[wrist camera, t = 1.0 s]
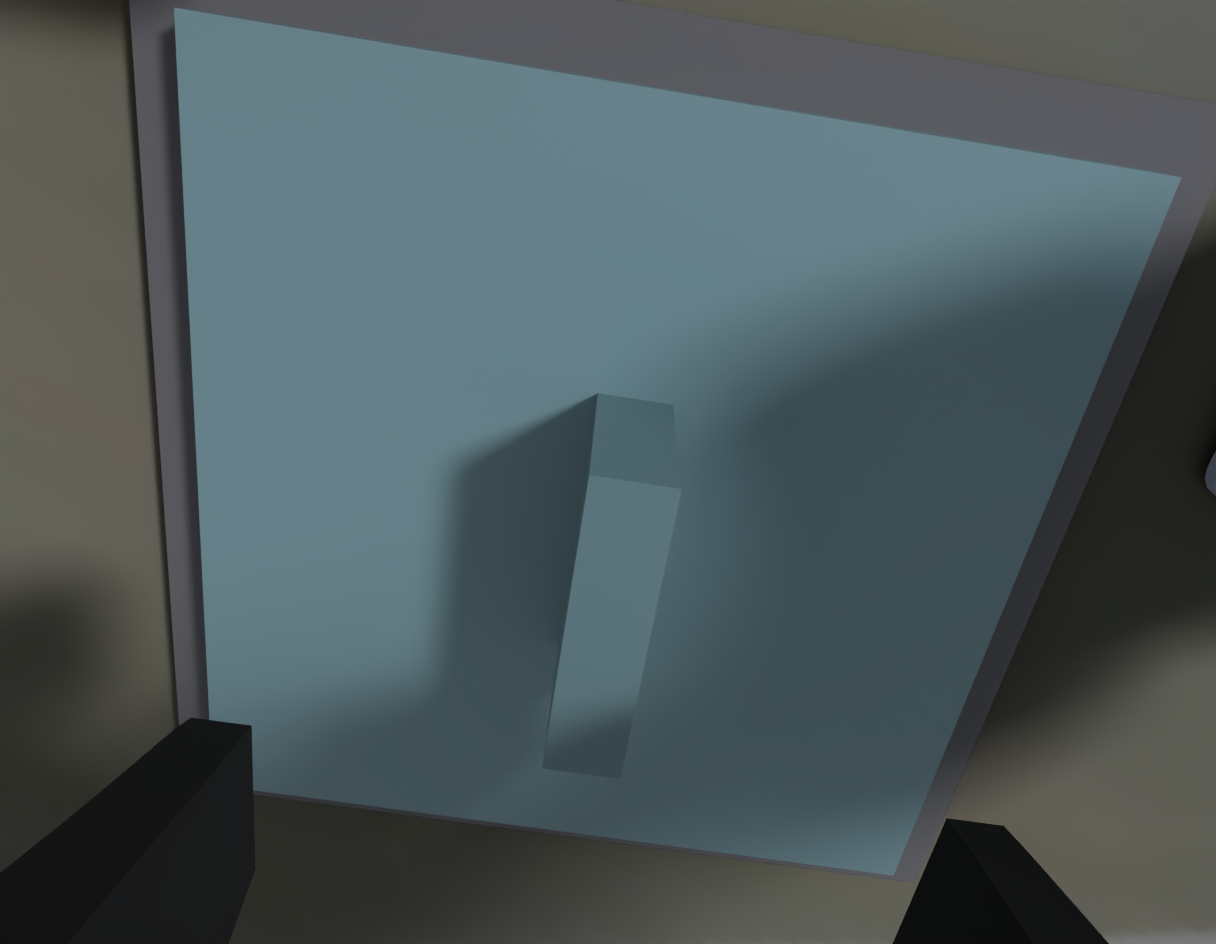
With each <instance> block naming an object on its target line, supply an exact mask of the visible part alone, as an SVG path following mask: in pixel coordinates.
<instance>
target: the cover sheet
mask: <svg viewBox="0 0 1216 944" xmlns="http://www.w3.org/2000/svg"><path fill="white" fill-rule="evenodd" d="M174 19H175V39H176V59H177V79H178V99H179V119H180V139H181V159H182V179H183V199H184V219H185V239H186V259H187V279H188V299H189V320H190V340H191V360H192V380H193V400H194V420H195V440H196V460H197V480H198V500H199V520H200V540H201V560H202V580H203V600H204V620H205V640H206V660H207V680H208V701H209V720H214V721H221V722H229V723H236V724H244V725H251V726H252V759H253V790H255V791H263V792H270V793H278V794H285V795H293V796H300V797H308V798H315V799H323V800H330V801H338V802H345V803H353V804H360V805H368V806H375V807H383V808H390V809H398V810H405V811H413V812H420V813H428V814H435V815H443V816H450V817H458V818H465V819H473V820H480V821H488V822H495V823H503V824H510V825H518V826H525V827H533V828H540V829H548V830H555V831H563V832H570V833H578V834H585V835H593V836H600V837H608V838H615V839H623V840H630V841H638V842H645V843H653V844H660V845H668V846H675V847H683V848H690V849H698V850H705V851H713V852H720V853H728V854H735V855H743V856H750V857H758V858H765V859H773V860H780V861H788V862H795V863H803V864H810V865H818V866H825V867H833V868H840V869H848V870H855V871H863V872H870V873H878V874H885V875H893V876H894V873H895V871H896V869H897V866H898V864H899V861H900V859H901V856H902V854H903V852H904V849H905V847H906V844H907V842H908V839H909V837H910V835H911V832H912V830H913V827H914V825H915V823H916V820H917V818H918V815H919V813H920V810H921V808H922V806H923V803H924V801H925V798H926V796H927V793H928V791H929V789H930V786H931V784H932V781H933V779H934V776H935V774H936V772H937V769H938V767H939V764H940V762H941V759H942V757H943V755H944V752H945V750H946V747H947V745H948V743H949V740H950V738H951V735H952V733H953V730H954V728H955V726H956V723H957V721H958V718H959V716H960V713H961V711H962V709H963V706H964V704H965V701H966V699H967V696H968V694H969V692H970V689H971V687H972V684H973V682H974V679H975V677H976V675H977V672H978V670H979V667H980V665H981V663H982V660H983V658H984V655H985V653H986V650H987V648H988V646H989V643H990V641H991V638H992V636H993V633H994V631H995V629H996V626H997V624H998V621H999V619H1000V616H1001V614H1002V612H1003V609H1004V607H1005V604H1006V602H1007V599H1008V597H1009V595H1010V592H1011V590H1012V587H1013V585H1014V583H1015V580H1016V578H1017V575H1018V573H1019V570H1020V568H1021V566H1022V563H1023V561H1024V558H1025V556H1026V553H1027V551H1028V549H1029V546H1030V544H1031V541H1032V539H1033V536H1034V534H1035V532H1036V529H1037V527H1038V524H1039V522H1040V520H1041V517H1042V515H1043V512H1044V510H1045V507H1046V505H1047V503H1048V500H1049V498H1050V495H1051V493H1052V490H1053V488H1054V486H1055V483H1056V481H1057V478H1058V476H1059V473H1060V471H1061V469H1062V466H1063V464H1064V461H1065V459H1066V456H1067V454H1068V452H1069V449H1070V447H1071V444H1072V442H1073V440H1074V437H1075V435H1076V432H1077V430H1078V427H1079V425H1080V423H1081V420H1082V418H1083V415H1084V413H1085V410H1086V408H1087V406H1088V403H1089V401H1090V398H1091V396H1092V393H1093V391H1094V389H1095V386H1096V384H1097V381H1098V379H1099V376H1100V374H1101V372H1102V369H1103V367H1104V364H1105V362H1106V360H1107V357H1108V355H1109V352H1110V350H1111V347H1112V345H1113V343H1114V340H1115V338H1116V335H1117V333H1118V330H1119V328H1120V326H1121V323H1122V321H1123V318H1124V316H1125V313H1126V311H1127V309H1128V306H1129V304H1130V301H1131V299H1132V297H1133V294H1134V292H1135V289H1136V287H1137V284H1138V282H1139V280H1140V277H1141V275H1142V272H1143V270H1144V267H1145V265H1146V263H1147V260H1148V258H1149V255H1150V253H1151V250H1152V248H1153V246H1154V243H1155V241H1156V238H1157V236H1158V233H1159V231H1160V229H1161V226H1162V224H1163V221H1164V219H1165V217H1166V214H1167V212H1168V209H1169V207H1170V204H1171V202H1172V200H1173V197H1174V195H1175V192H1176V190H1177V187H1178V185H1179V183H1180V180H1181V178H1182V177H1178V176H1174V175H1170V174H1166V173H1161V172H1157V171H1153V170H1148V169H1142V168H1136V167H1130V166H1124V165H1118V164H1112V163H1106V162H1100V161H1094V160H1088V159H1082V158H1076V157H1070V156H1065V155H1059V154H1053V153H1047V152H1041V151H1035V150H1029V149H1023V148H1017V147H1011V146H1005V145H999V144H993V143H987V142H982V141H976V140H970V139H964V138H958V137H952V136H946V135H940V134H934V133H928V132H922V131H916V130H910V129H904V128H899V127H893V126H887V125H881V124H875V123H869V122H863V121H857V120H851V119H845V118H839V117H833V116H827V115H821V114H815V113H810V112H804V111H798V110H792V109H786V108H780V107H774V106H768V105H762V104H756V103H750V102H744V101H738V100H732V99H727V98H721V97H715V96H709V95H703V94H697V93H691V92H685V91H679V90H673V89H667V88H661V87H655V86H649V85H644V84H638V83H632V82H626V81H620V80H614V79H608V78H602V77H596V76H590V75H584V74H578V73H572V72H566V71H561V70H555V69H549V68H543V67H537V66H531V65H525V64H519V63H513V62H507V61H501V60H495V59H489V58H483V57H478V56H472V55H466V54H460V53H454V52H448V51H442V50H436V49H430V48H424V47H418V46H412V45H406V44H400V43H394V42H389V41H383V40H377V39H371V38H365V37H359V36H353V35H347V34H341V33H335V32H329V31H323V30H317V29H311V28H306V27H300V26H294V25H288V24H282V23H276V22H270V21H264V20H258V19H252V18H246V17H240V16H234V15H228V14H223V13H217V12H211V11H205V10H198V9H186V8H175V7H174Z"/></svg>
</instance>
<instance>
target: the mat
mask: <svg viewBox="0 0 1216 944" xmlns="http://www.w3.org/2000/svg"><path fill="white" fill-rule="evenodd" d="M129 7H130V21H131V36H132V50H133V65H134V79H135V94H136V108H137V123H138V137H139V152H140V166H141V181H142V195H143V210H144V224H145V239H146V253H147V268H148V282H149V297H150V311H151V326H152V340H153V355H154V369H155V384H156V398H157V413H158V427H159V442H160V456H161V471H162V485H163V500H164V515H165V529H166V544H167V558H168V573H169V587H170V602H171V616H172V631H173V645H174V660H175V674H176V689H177V703H178V718H179V725H181V724H182V723H184V722H185V721H187V720H188V719H190V718H199V719H206V720H209V701H208V680H207V660H206V640H205V620H204V600H203V580H202V560H201V540H200V520H199V500H198V480H197V460H196V440H195V420H194V400H193V380H192V360H191V340H190V320H189V299H188V279H187V259H186V239H185V219H184V199H183V179H182V159H181V139H180V119H179V99H178V79H177V59H176V39H175V19H174V7H175V8H186V9H198V10H205V11H211V12H217V13H223V14H228V15H234V16H240V17H246V18H252V19H258V20H264V21H270V22H276V23H282V24H288V25H294V26H300V27H306V28H311V29H317V30H323V31H329V32H335V33H341V34H347V35H353V36H359V37H365V38H371V39H377V40H383V41H389V42H394V43H400V44H406V45H412V46H418V47H424V48H430V49H436V50H442V51H448V52H454V53H460V54H466V55H472V56H478V57H483V58H489V59H495V60H501V61H507V62H513V63H519V64H525V65H531V66H537V67H543V68H549V69H555V70H561V71H566V72H572V73H578V74H584V75H590V76H596V77H602V78H608V79H614V80H620V81H626V82H632V83H638V84H644V85H649V86H655V87H661V88H667V89H673V90H679V91H685V92H691V93H697V94H703V95H709V96H715V97H721V98H727V99H732V100H738V101H744V102H750V103H756V104H762V105H768V106H774V107H780V108H786V109H792V110H798V111H804V112H810V113H815V114H821V115H827V116H833V117H839V118H845V119H851V120H857V121H863V122H869V123H875V124H881V125H887V126H893V127H899V128H904V129H910V130H916V131H922V132H928V133H934V134H940V135H946V136H952V137H958V138H964V139H970V140H976V141H982V142H987V143H993V144H999V145H1005V146H1011V147H1017V148H1023V149H1029V150H1035V151H1041V152H1047V153H1053V154H1059V155H1065V156H1070V157H1076V158H1082V159H1088V160H1094V161H1100V162H1106V163H1112V164H1118V165H1124V166H1130V167H1136V168H1142V169H1148V170H1153V171H1157V172H1161V173H1166V174H1170V175H1174V176H1178V177H1182V178H1181V180H1180V183H1179V185H1178V187H1177V190H1176V192H1175V195H1174V197H1173V200H1172V202H1171V204H1170V207H1169V209H1168V212H1167V214H1166V217H1165V219H1164V221H1163V224H1162V226H1161V229H1160V231H1159V233H1158V236H1157V238H1156V241H1155V243H1154V246H1153V248H1152V250H1151V253H1150V255H1149V258H1148V260H1147V263H1146V265H1145V267H1144V270H1143V272H1142V275H1141V277H1140V280H1139V282H1138V284H1137V287H1136V289H1135V292H1134V294H1133V297H1132V299H1131V301H1130V304H1129V306H1128V309H1127V311H1126V313H1125V316H1124V318H1123V321H1122V323H1121V326H1120V328H1119V330H1118V333H1117V335H1116V338H1115V340H1114V343H1113V345H1112V347H1111V350H1110V352H1109V355H1108V357H1107V360H1106V362H1105V364H1104V367H1103V369H1102V372H1101V374H1100V376H1099V379H1098V381H1097V384H1096V386H1095V389H1094V391H1093V393H1092V396H1091V398H1090V401H1089V403H1088V406H1087V408H1086V410H1085V413H1084V415H1083V418H1082V420H1081V423H1080V425H1079V427H1078V430H1077V432H1076V435H1075V437H1074V440H1073V442H1072V444H1071V447H1070V449H1069V452H1068V454H1067V456H1066V459H1065V461H1064V464H1063V466H1062V469H1061V471H1060V473H1059V476H1058V478H1057V481H1056V483H1055V486H1054V488H1053V490H1052V493H1051V495H1050V498H1049V500H1048V503H1047V505H1046V507H1045V510H1044V512H1043V515H1042V517H1041V520H1040V522H1039V524H1038V527H1037V529H1036V532H1035V534H1034V536H1033V539H1032V541H1031V544H1030V546H1029V549H1028V551H1027V553H1026V556H1025V558H1024V561H1023V563H1022V566H1021V568H1020V570H1019V573H1018V575H1017V578H1016V580H1015V583H1014V585H1013V587H1012V590H1011V592H1010V595H1009V597H1008V599H1007V602H1006V604H1005V607H1004V609H1003V612H1002V614H1001V616H1000V619H999V621H998V624H997V626H996V629H995V631H994V633H993V636H992V638H991V641H990V643H989V646H988V648H987V650H986V653H985V655H984V658H983V660H982V663H981V665H980V667H979V670H978V672H977V675H976V677H975V679H974V682H973V684H972V687H971V689H970V692H969V694H968V696H967V699H966V701H965V704H964V706H963V709H962V711H961V713H960V716H959V718H958V721H957V723H956V726H955V728H954V730H953V733H952V735H951V738H950V740H949V743H948V745H947V747H946V750H945V752H944V755H943V757H942V759H941V762H940V764H939V767H938V769H937V772H936V774H935V776H934V779H933V781H932V784H931V786H930V789H929V791H928V793H927V796H926V798H925V801H924V803H923V806H922V808H921V810H920V813H919V815H918V818H917V820H916V823H915V825H914V827H913V830H912V832H911V835H910V837H909V839H908V842H907V844H906V847H905V849H904V852H903V854H902V856H901V859H900V861H899V864H898V866H897V869H896V871H895V873H894V876H893V875H885V874H878V873H870V872H863V871H855V870H848V869H840V868H833V867H825V866H818V865H810V864H803V863H795V862H788V861H780V860H773V859H765V858H758V857H750V856H743V855H735V854H728V853H720V852H713V851H705V850H698V849H690V848H683V847H675V846H668V845H660V844H653V843H645V842H638V841H630V840H623V839H615V838H608V837H600V836H593V835H585V834H578V833H570V832H563V831H555V830H548V829H540V828H533V827H525V826H518V825H510V824H503V823H495V822H488V821H480V820H473V819H465V818H458V817H450V816H443V815H435V814H428V813H420V812H413V811H405V810H398V809H390V808H383V807H375V806H368V805H360V804H353V803H345V802H338V801H330V800H323V799H315V798H308V797H300V796H293V795H285V794H278V793H270V792H263V791H255V790H253V795H259V796H266V797H274V798H281V799H289V800H296V801H304V802H311V803H319V804H326V805H334V806H341V807H349V808H356V809H364V810H372V811H379V812H387V813H394V814H402V815H409V816H417V817H424V818H432V819H439V820H447V821H454V822H462V823H469V824H477V825H484V826H492V827H499V828H507V829H514V830H522V831H529V832H537V833H544V834H552V835H559V836H567V837H574V838H582V839H589V840H597V841H604V842H612V843H619V844H627V845H634V846H642V847H649V848H657V849H664V850H672V851H679V852H687V853H695V854H702V855H710V856H717V857H725V858H732V859H740V860H747V861H755V862H762V863H770V864H777V865H785V866H792V867H800V868H807V869H815V870H822V871H830V872H837V873H845V874H852V875H860V876H867V877H875V878H882V879H890V880H897V881H905V882H912V883H915V882H916V880H917V878H918V875H919V873H920V871H921V868H922V866H923V864H924V861H925V859H926V857H927V854H928V852H929V850H930V847H931V845H932V843H933V840H934V838H935V836H936V833H937V831H938V829H939V826H940V824H941V822H942V820H943V817H944V815H945V813H946V810H947V808H948V806H949V803H950V801H951V799H952V796H953V794H954V792H955V789H956V787H957V785H958V782H959V780H960V778H961V775H962V773H963V771H964V768H965V766H966V764H967V761H968V759H969V757H970V754H971V752H972V750H973V747H974V745H975V743H976V740H977V738H978V736H979V733H980V731H981V729H982V726H983V724H984V722H985V719H986V717H987V715H988V712H989V710H990V708H991V705H992V703H993V701H994V698H995V696H996V694H997V691H998V689H999V687H1000V684H1001V682H1002V680H1003V677H1004V675H1005V673H1006V671H1007V668H1008V666H1009V664H1010V661H1011V659H1012V657H1013V654H1014V652H1015V650H1016V647H1017V645H1018V643H1019V640H1020V638H1021V636H1022V633H1023V631H1024V629H1025V626H1026V624H1027V622H1028V619H1029V617H1030V615H1031V612H1032V610H1033V608H1034V605H1035V603H1036V601H1037V598H1038V596H1039V594H1040V591H1041V589H1042V587H1043V584H1044V582H1045V580H1046V577H1047V575H1048V573H1049V570H1050V568H1051V566H1052V563H1053V561H1054V559H1055V556H1056V554H1057V552H1058V549H1059V547H1060V545H1061V542H1062V540H1063V538H1064V535H1065V533H1066V531H1067V528H1068V526H1069V524H1070V521H1071V519H1072V517H1073V515H1074V512H1075V510H1076V508H1077V505H1078V503H1079V501H1080V498H1081V496H1082V494H1083V491H1084V489H1085V487H1086V484H1087V482H1088V480H1089V477H1090V475H1091V473H1092V470H1093V468H1094V466H1095V463H1096V461H1097V459H1098V456H1099V454H1100V452H1101V449H1102V447H1103V445H1104V442H1105V440H1106V438H1107V435H1108V433H1109V431H1110V428H1111V426H1112V424H1113V421H1114V419H1115V417H1116V414H1117V412H1118V410H1119V407H1120V405H1121V403H1122V400H1123V398H1124V396H1125V393H1126V391H1127V389H1128V386H1129V384H1130V382H1131V379H1132V377H1133V375H1134V372H1135V370H1136V368H1137V366H1138V363H1139V361H1140V359H1141V356H1142V354H1143V352H1144V349H1145V347H1146V345H1147V342H1148V340H1149V338H1150V335H1151V333H1152V331H1153V328H1154V326H1155V324H1156V321H1157V319H1158V317H1159V314H1160V312H1161V310H1162V307H1163V305H1164V303H1165V300H1166V298H1167V296H1168V293H1169V291H1170V289H1171V286H1172V284H1173V282H1174V279H1175V277H1176V275H1177V272H1178V270H1179V268H1180V265H1181V263H1182V261H1183V258H1184V256H1185V254H1186V251H1187V249H1188V247H1189V244H1190V242H1191V240H1192V237H1193V235H1194V233H1195V230H1196V228H1197V226H1198V223H1199V221H1200V219H1201V216H1202V214H1203V212H1204V210H1205V207H1206V205H1207V203H1208V200H1209V198H1210V196H1211V193H1212V191H1213V189H1214V186H1215V184H1216V104H1213V103H1207V102H1201V101H1195V100H1189V99H1184V98H1178V97H1172V96H1166V95H1160V94H1155V93H1149V92H1143V91H1137V90H1131V89H1125V88H1120V87H1114V86H1108V85H1102V84H1096V83H1091V82H1085V81H1079V80H1073V79H1067V78H1062V77H1056V76H1050V75H1044V74H1038V73H1033V72H1027V71H1021V70H1015V69H1009V68H1004V67H998V66H992V65H986V64H980V63H975V62H969V61H963V60H957V59H951V58H946V57H940V56H934V55H928V54H922V53H917V52H911V51H905V50H899V49H893V48H888V47H882V46H876V45H870V44H864V43H859V42H853V41H847V40H841V39H835V38H830V37H824V36H818V35H812V34H806V33H801V32H795V31H789V30H783V29H777V28H772V27H766V26H760V25H754V24H748V23H743V22H737V21H731V20H725V19H719V18H713V17H708V16H702V15H696V14H690V13H684V12H679V11H673V10H667V9H661V8H655V7H650V6H644V5H638V4H632V3H626V2H621V1H615V0H129Z"/></svg>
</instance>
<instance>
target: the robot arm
mask: <svg viewBox="0 0 1216 944" xmlns="http://www.w3.org/2000/svg"><path fill="white" fill-rule="evenodd" d="M1205 481H1206V486H1207V488H1208V489H1209V490H1210V491H1211V492H1212V493H1213V494H1214V495H1215V496H1216V451H1215V453H1214V455H1213V457H1212V459H1211V461H1210V463H1209V465H1208V467H1207V471H1206V475H1205ZM254 871H255V846H254V803H253V759H252V726H251V725H244V724H236V723H229V722H221V721H214V720H206V719H199V718H190V719H188V720H187V721H185V722H184V723H182V724H181V725H179V726H178V727H177V728H176V729H175V730H173V731H172V732H171V733H170V734H169V735H167V736H166V737H165V738H164V739H163V740H161V741H160V742H159V743H158V744H157V745H155V746H154V747H153V748H152V749H151V750H150V751H148V752H147V753H146V754H145V755H144V756H142V757H141V758H140V759H139V760H138V761H137V762H135V763H134V764H133V765H132V766H131V767H129V768H128V769H127V770H126V771H125V772H124V773H122V774H121V775H120V776H119V777H118V778H116V779H115V780H114V781H113V782H112V783H110V784H109V785H108V786H107V787H106V788H104V789H103V790H102V791H101V792H100V793H98V794H97V795H96V796H95V797H94V798H92V799H91V800H90V801H89V802H88V803H86V804H85V805H84V806H83V807H82V808H80V809H79V810H78V811H77V812H76V813H74V814H73V815H72V816H71V817H69V818H68V819H67V820H66V821H65V822H63V823H62V824H61V825H60V826H58V827H57V828H56V829H55V830H53V831H52V832H51V833H50V834H48V835H47V836H46V837H45V838H43V839H42V840H41V841H40V842H38V843H37V844H36V845H35V846H33V847H32V848H31V849H30V850H28V851H27V852H26V853H25V854H23V855H22V856H21V857H20V858H18V859H17V860H16V861H14V862H13V863H12V864H11V865H9V866H8V867H7V868H6V869H4V870H3V871H2V872H1V873H0V944H228V942H229V940H230V937H231V934H232V932H233V929H234V926H235V924H236V921H237V918H238V915H239V913H240V910H241V907H242V904H243V901H244V899H245V896H246V893H247V890H248V887H249V885H250V882H251V879H252V876H253V874H254ZM893 944H1109V943H1108V942H1107V941H1106V940H1105V939H1104V938H1103V937H1102V935H1101V934H1100V933H1099V932H1098V931H1097V930H1096V929H1095V927H1094V926H1093V925H1092V924H1091V923H1090V922H1089V921H1088V920H1087V918H1086V917H1085V916H1084V915H1083V914H1082V913H1081V912H1080V910H1079V909H1078V908H1077V907H1076V906H1075V905H1074V904H1073V903H1072V901H1071V900H1070V899H1069V898H1068V897H1067V896H1066V895H1065V893H1064V892H1063V891H1062V890H1061V889H1060V888H1059V887H1058V885H1057V884H1056V883H1055V882H1054V881H1053V880H1052V879H1051V878H1050V876H1049V875H1048V874H1047V873H1046V872H1045V871H1044V870H1043V868H1042V867H1041V866H1040V865H1039V864H1038V863H1037V862H1036V861H1035V860H1034V858H1033V857H1032V856H1031V855H1030V854H1029V853H1028V852H1027V851H1026V850H1025V848H1024V847H1023V846H1022V845H1021V844H1020V843H1019V842H1018V841H1017V840H1016V839H1015V838H1014V837H1013V835H1012V834H1011V833H1010V832H1009V831H1008V830H1007V829H1006V828H1005V827H1004V826H1000V825H992V824H985V823H977V822H970V821H962V820H955V819H946V821H945V824H944V826H943V828H942V831H941V833H940V835H939V838H938V840H937V842H936V845H935V847H934V849H933V852H932V854H931V856H930V858H929V861H928V863H927V865H926V868H925V870H924V872H923V875H922V877H921V879H920V882H919V884H918V886H917V889H916V891H915V893H914V896H913V898H912V900H911V903H910V905H909V907H908V910H907V912H906V914H905V917H904V919H903V921H902V924H901V926H900V928H899V930H898V933H897V935H896V937H895V940H894V942H893Z"/></svg>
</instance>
